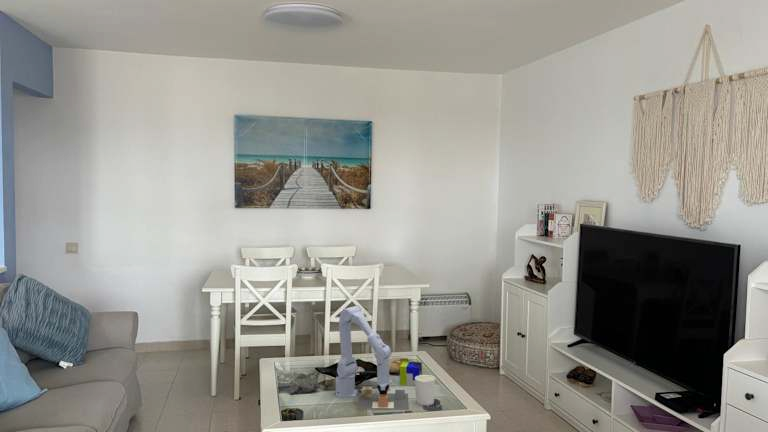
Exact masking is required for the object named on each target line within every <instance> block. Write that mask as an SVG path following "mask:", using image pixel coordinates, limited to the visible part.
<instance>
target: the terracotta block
mask: <svg viewBox="0 0 768 432" xmlns="http://www.w3.org/2000/svg"><path fill="white" fill-rule="evenodd" d="M378 407H388V394H378Z"/></svg>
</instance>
